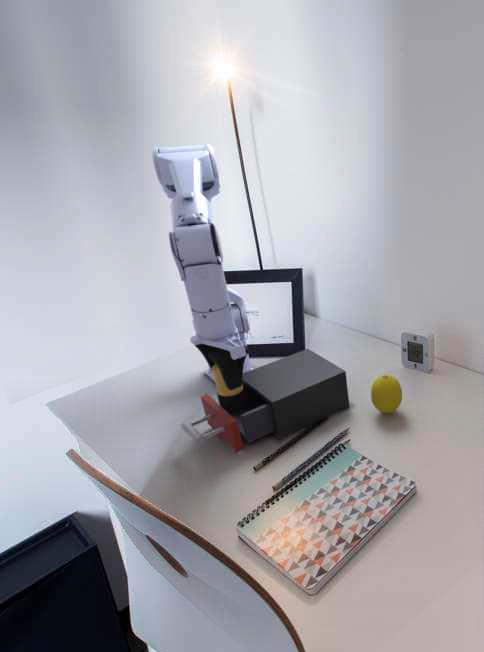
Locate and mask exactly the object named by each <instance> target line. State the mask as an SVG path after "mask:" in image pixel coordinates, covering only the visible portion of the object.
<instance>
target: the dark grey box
mask: <svg viewBox="0 0 484 652" xmlns="http://www.w3.org/2000/svg"><path fill="white" fill-rule="evenodd" d="M242 383H245V384H246V385H247V386H248V387H250V388H251V389H252V390H253V391H255V392H256V393H257V394H258V395H260V396H261V397H262V398H263V399H265V400H266V401H267V402H268V403H270V404H271V407H272V412H273V417H274V422H275V427H276V431H273V432H271V433H270V434H272V435H273V436H275V437H276V438H277V439H278V440H283V439H284V438H286V437H289V436H291V435H294V434H295V433H297V432H299V431H301V430H303V429H305V428H308V427H309V426H312V425H314V424H316V423H318V422H320V421H321V420H324V419H326V418H328V417H330V416H332V415H335V414H336V413H339V412H341V411H343V410H345V409H347V408H349V407H350V399H349V390H348V389H349V387H348V381H347V373H346V370H344V369H343V368H341V367H340V366H338V365H337V364H334V363H333V362H331V361H329V360H328V359H326V358H325V357H323V356H322V355H319V354H317V352H314V351H313V350H311V349H310V348H306V349H302V350H300V351H298V352H295V353H293V354H290V355H288V356H285V357H282V358H279V359H277V360H275V361H272V362H269V363H266V364H264V365H261V366H259V367H256V368H254V369H253V370H250V371H248V372H245V373H243V377H242Z"/></svg>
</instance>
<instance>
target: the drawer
mask: <svg viewBox="0 0 484 652" xmlns="http://www.w3.org/2000/svg"><path fill="white" fill-rule="evenodd" d="M242 385H243V389H242V391H241V392H239V393H238V394H235V395H232V396H221V395H219V394H218V392H217V393H216V397H217V400H218V402H217V401H216V400H215V399H213V398H212V397H211V396H210V394H208V393H205V394H203V395H200V400H201V403H202V407H203V412H204V416H202V417H199V418H196V419H194V420H192V421H187V420H185V421H183V422H182V423H181V429H182V430H183V431H184V432H185V433H186V434H187V436H189V437H190V439H191V440H192V441H193V442H194V443H195V444H196V445H203V444H204V442H205V440H207V439H209V438H212V437H214V436H216V435H218V436H219V437H221V438H222V440H223V441H224V442H226V444H228V446H229V447H230V448H231V449H232V450H234V452H235V453H236V454H238V453H240V452H242V451H244V445H243V442H242V438H243V439H244V440H245V441H246V442H247V443H248V444H250V443H252V442H255V441H256V440H258V439H261V438H263V437H265V436H267V435H269V434H272V433H271V432H273V431H276V427H275V422H274V417H273V412H272V407H271V404H270V403H268V402H267V401H266V400H265V399H263V398H262V397H261V396H260V395H258V394H257V393H256V392H255V391H253V390H252V389H251V388H250V387H248V386H247V385H246V384H245V383H242ZM205 422H207V425H209V427H210V428H212V430H211V431H209V432H207V433H204V434H201V433H200V432H199V430H197V429H196V428H195V426H197V425H200V424H201V423H205Z"/></svg>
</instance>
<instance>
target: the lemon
mask: <svg viewBox="0 0 484 652" xmlns="http://www.w3.org/2000/svg"><path fill="white" fill-rule="evenodd" d="M370 398H371V399H370V400H371V402H372V405H373V407H374V408H375V409H376V410H377V411H379V412H381V413H385V414H386V415H387V414H390V413H393V412H395V411H396V410H397V409H398V408H400V406H401V404H402V401H403V390H402V386H401V384H400V381H399V380H398V379H397V378H396V377H395V376H393V375H389V374H386V373H385V374H383V375H380V376H378V377H377V378H376V379H375V380H374V381H373V383H372V385H371V389H370Z"/></svg>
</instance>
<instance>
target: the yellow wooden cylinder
mask: <svg viewBox="0 0 484 652" xmlns="http://www.w3.org/2000/svg"><path fill="white" fill-rule="evenodd" d="M212 372H213V376H214V380H215V381H214V380H213V381H214V383H215V387H216V390H217V393H218V394H219V395H221V396H232V395H235V394H238V393H239V392H241V391H242V389H243V385H242V386H241V387H238V388H236V389H233V390H229V389H228V388H227V386H226V384H225V382H224V380H223V377H222V374H221V372H220V370H219V368H218V367H217V365H216V364H215V365H213V367H212Z"/></svg>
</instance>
